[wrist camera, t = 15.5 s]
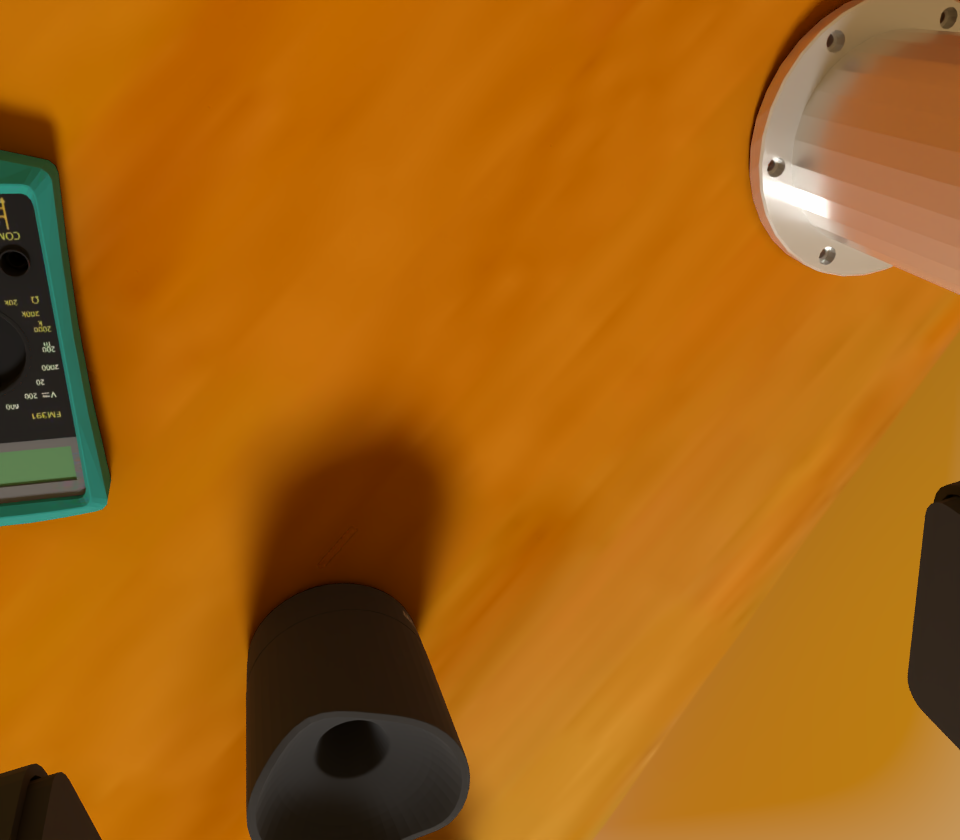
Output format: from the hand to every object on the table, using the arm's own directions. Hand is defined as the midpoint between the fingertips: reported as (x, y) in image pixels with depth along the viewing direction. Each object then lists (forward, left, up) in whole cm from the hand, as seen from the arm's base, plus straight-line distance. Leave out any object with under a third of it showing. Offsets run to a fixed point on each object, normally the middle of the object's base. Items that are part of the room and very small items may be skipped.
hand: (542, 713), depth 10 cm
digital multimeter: (+13, +4, -31) cm, 34 cm away
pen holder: (+4, +24, -31) cm, 39 cm away
